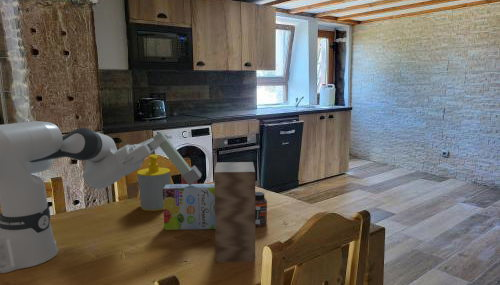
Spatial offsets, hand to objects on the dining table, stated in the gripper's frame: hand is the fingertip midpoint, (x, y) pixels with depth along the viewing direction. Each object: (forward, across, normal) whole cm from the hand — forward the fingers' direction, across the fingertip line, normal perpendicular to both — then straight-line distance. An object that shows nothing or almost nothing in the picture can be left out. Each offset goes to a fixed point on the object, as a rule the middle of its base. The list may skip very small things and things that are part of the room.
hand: (165, 137), depth 119 cm
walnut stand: (+4, -18, +39) cm, 43 cm away
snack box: (-8, +1, +32) cm, 34 cm away
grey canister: (-25, +24, +23) cm, 41 cm away
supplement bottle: (+11, +3, +43) cm, 45 cm away
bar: (-2, 0, +8) cm, 8 cm away
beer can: (-13, +31, +29) cm, 45 cm away
